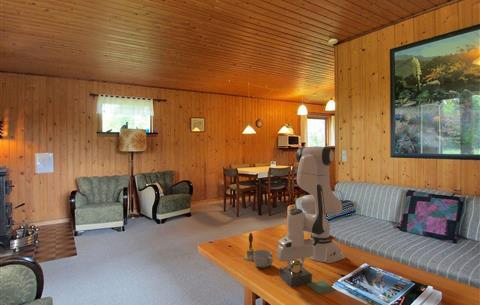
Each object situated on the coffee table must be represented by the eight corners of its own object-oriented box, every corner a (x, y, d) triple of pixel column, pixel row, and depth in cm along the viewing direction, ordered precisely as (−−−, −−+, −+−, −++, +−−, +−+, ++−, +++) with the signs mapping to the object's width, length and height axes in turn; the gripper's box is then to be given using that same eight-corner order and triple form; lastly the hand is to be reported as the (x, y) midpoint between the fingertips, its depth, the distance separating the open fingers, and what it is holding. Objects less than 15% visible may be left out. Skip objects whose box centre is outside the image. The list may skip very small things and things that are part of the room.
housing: (299, 273, 150) (299, 263, 150) (311, 283, 139) (311, 273, 139) (279, 276, 146) (279, 266, 146) (291, 287, 135) (291, 276, 135)
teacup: (250, 263, 163) (250, 250, 163) (267, 260, 167) (267, 247, 167) (260, 273, 150) (260, 259, 150) (278, 270, 154) (278, 256, 154)
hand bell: (256, 255, 175) (256, 230, 175) (257, 260, 167) (257, 235, 166) (243, 255, 175) (243, 231, 174) (244, 261, 167) (244, 235, 166)
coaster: (323, 281, 141) (323, 280, 141) (336, 291, 132) (336, 289, 132) (306, 284, 138) (306, 283, 138) (318, 294, 129) (318, 293, 129)
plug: (297, 277, 146) (297, 258, 146) (301, 281, 141) (302, 262, 141) (289, 278, 144) (289, 260, 144) (293, 283, 140) (293, 263, 139)
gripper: (309, 236, 149) (309, 261, 149) (275, 241, 142) (275, 267, 142) (316, 240, 143) (315, 266, 143) (281, 245, 136) (281, 272, 136)
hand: (295, 266), depth 143 cm, fingers closed on plug, 5 cm apart
